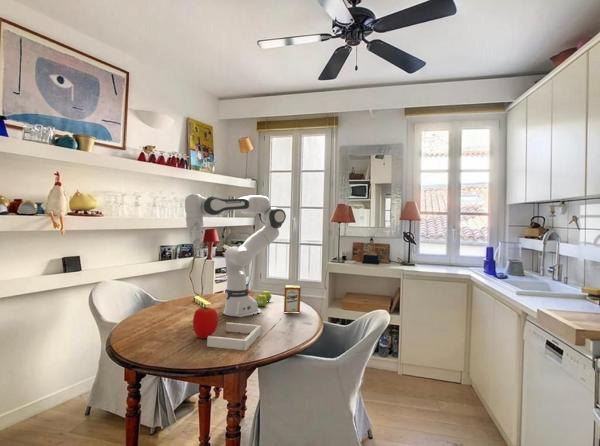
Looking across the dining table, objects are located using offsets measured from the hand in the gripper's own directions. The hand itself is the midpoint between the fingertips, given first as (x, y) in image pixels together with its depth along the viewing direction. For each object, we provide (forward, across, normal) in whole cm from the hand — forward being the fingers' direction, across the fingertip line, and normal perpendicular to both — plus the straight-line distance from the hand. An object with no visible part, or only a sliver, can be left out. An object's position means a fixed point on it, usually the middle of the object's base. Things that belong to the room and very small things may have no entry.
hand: (197, 248), depth 180 cm
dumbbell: (+40, +27, -42) cm, 65 cm away
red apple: (+42, -24, +3) cm, 49 cm away
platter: (+36, +35, -3) cm, 50 cm away
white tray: (+44, -32, -9) cm, 55 cm away
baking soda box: (+44, +3, -52) cm, 69 cm away
